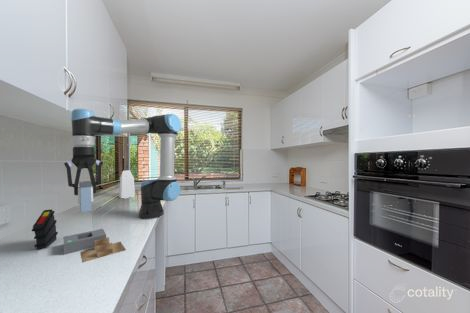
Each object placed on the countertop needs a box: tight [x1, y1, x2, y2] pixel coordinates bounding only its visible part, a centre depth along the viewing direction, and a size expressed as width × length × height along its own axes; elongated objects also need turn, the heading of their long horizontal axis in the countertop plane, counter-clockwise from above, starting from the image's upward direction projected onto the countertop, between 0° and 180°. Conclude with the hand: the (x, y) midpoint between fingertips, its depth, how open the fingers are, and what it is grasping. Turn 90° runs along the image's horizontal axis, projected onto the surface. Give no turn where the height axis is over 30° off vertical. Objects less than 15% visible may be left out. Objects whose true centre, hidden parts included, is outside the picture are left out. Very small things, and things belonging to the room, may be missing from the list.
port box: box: [62, 228, 107, 256], centre depth 87 cm, size 14×10×5 cm
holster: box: [79, 237, 127, 263], centre depth 81 cm, size 14×11×4 cm
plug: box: [78, 180, 93, 213], centre depth 87 cm, size 4×5×12 cm
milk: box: [118, 169, 136, 199], centre depth 201 cm, size 12×12×26 cm
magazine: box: [31, 209, 59, 251], centre depth 91 cm, size 4×13×15 cm, turn 21°
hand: (85, 201), depth 87 cm, fingers closed on plug, 4 cm apart
